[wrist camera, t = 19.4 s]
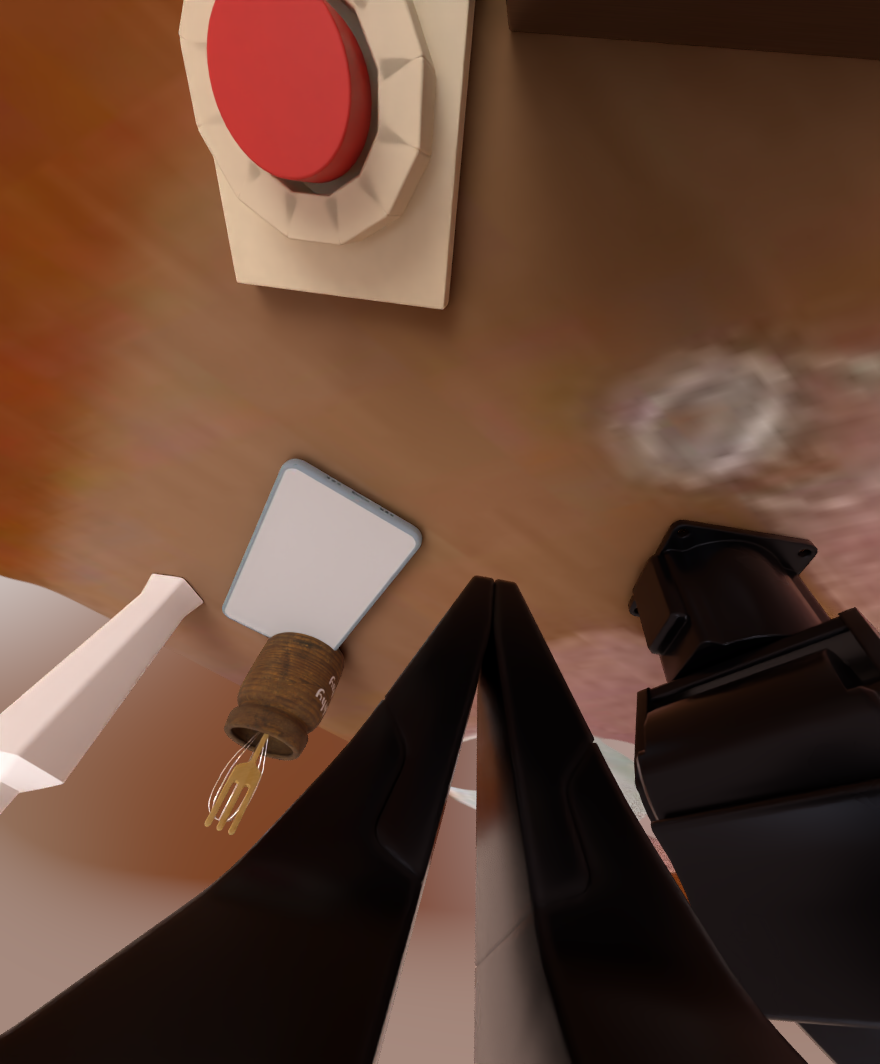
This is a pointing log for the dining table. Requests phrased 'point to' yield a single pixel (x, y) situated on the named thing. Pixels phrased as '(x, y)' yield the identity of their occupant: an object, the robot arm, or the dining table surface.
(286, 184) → the control block
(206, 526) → the dining table surface
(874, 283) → the dining table surface
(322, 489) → the smartphone
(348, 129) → the button
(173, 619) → the perfume bottle
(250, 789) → the utensil holder
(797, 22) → the toaster
